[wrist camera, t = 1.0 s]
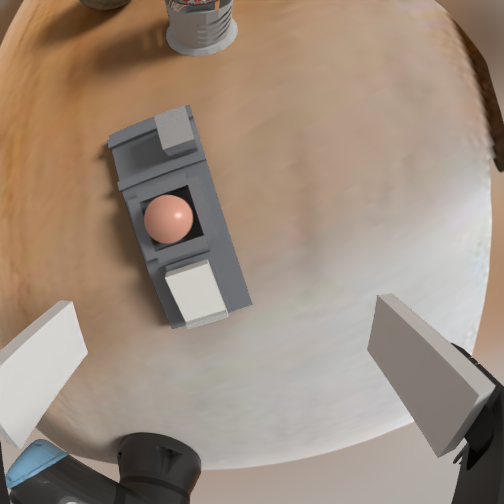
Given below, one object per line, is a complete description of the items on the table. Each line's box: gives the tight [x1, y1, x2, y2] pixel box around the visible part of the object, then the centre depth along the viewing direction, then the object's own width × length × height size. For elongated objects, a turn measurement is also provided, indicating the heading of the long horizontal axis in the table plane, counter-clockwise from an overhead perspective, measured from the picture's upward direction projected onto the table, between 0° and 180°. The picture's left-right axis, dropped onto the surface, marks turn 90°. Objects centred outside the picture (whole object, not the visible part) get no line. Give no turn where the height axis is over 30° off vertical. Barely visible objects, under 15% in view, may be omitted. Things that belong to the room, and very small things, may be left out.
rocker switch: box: [165, 259, 228, 329], centre depth 27 cm, size 4×6×2 cm
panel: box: [107, 105, 252, 329], centre depth 28 cm, size 10×24×5 cm, turn 17°
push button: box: [144, 195, 194, 244], centre depth 25 cm, size 4×4×3 cm
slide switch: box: [154, 105, 198, 159], centre depth 25 cm, size 3×4×5 cm
